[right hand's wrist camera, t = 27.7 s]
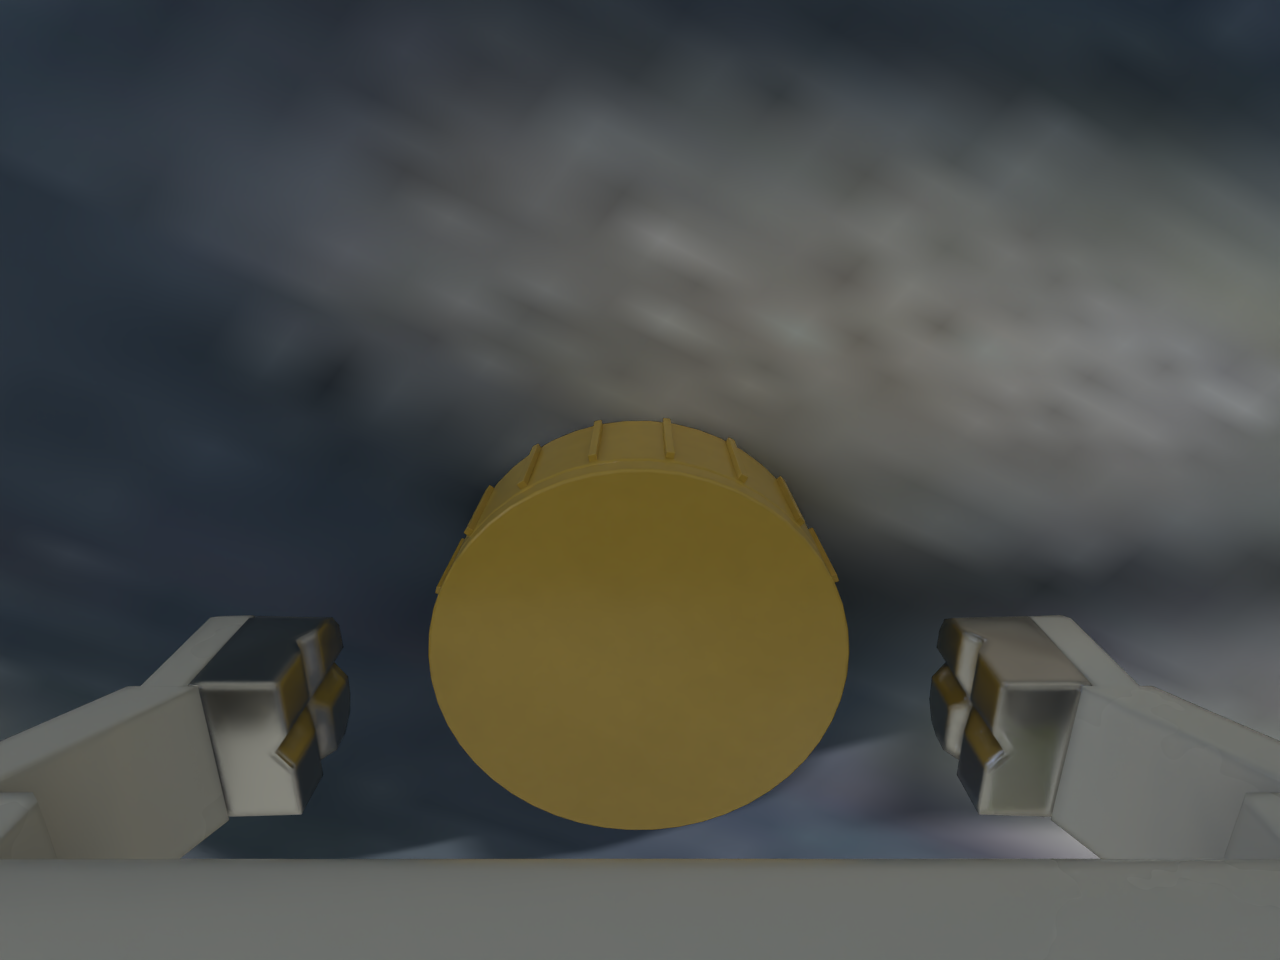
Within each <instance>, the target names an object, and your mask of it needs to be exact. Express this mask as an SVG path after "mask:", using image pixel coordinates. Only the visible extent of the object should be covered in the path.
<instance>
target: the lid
mask: <svg viewBox="0 0 1280 960" xmlns="http://www.w3.org/2000/svg"><path fill="white" fill-rule="evenodd" d="M464 533H465V534H466V537H465V539H463V538H462V539H461V540H460V542H459V544H458V546H457V548H456V550H455V552H454V554H453V556H452V558H451V560H450V562H449V564H448V566H447V568H446V570H445V572H444V574H443V576H442V578H441V579H440V581H439V583H438V585H437V588H436V592H435V593H437V594H438V597H437V600H436V602H435V605H434V608H433V613H432V619H431V624H430V629H429V650H428V657H429V665H430V673H431V680H432V684H433V687H434V691H435V694H436V698H437V702H438V704H439V707H440V709H441V711H442V713H443V716H444V718H445V720H446V722H447V725H448V726H449V728H450V729H451V731H452V733H453V734H454V736H455V737H456V739H457V741H458V742H459V744H460V745H461V746H462V748H463V749H464V750H465V751H466V753H467V754H468V755H469V756H470V757H471V759H472V760H473V761H474V762H475V763H476V764H477V765H478V766H479V767H480V768H481V769H482V770H483V771H484V772H485V773H486V774H487V775H488V776H490V777H491V778H492V779H493V780H494V781H496V782H497V783H498V784H500V785H501V786H502V787H504V788H505V789H506V790H508V791H509V792H510V793H512V794H514V795H515V796H517V797H519V798H521V799H522V800H524V801H526V802H528V803H529V804H531V805H533V806H535V807H537V808H540V809H542V810H544V811H547V812H549V813H551V814H554V815H556V816H559V817H563V818H566V819H569V820H572V821H575V822H579V823H583V824H588V825H593V826H598V827H603V828H614V829H625V830H655V829H664V828H673V827H680V826H685V825H689V824H694V823H698V822H703V821H706V820H709V819H712V818H715V817H718V816H721V815H724V814H727V813H729V812H731V811H733V810H736V809H738V808H740V807H742V806H744V805H747V804H749V803H750V802H752V801H754V800H755V799H757V798H759V797H760V796H762V795H764V794H765V793H767V792H769V791H770V790H772V789H773V788H774V787H775V786H777V785H778V784H779V783H781V782H782V781H783V780H785V779H786V778H787V777H788V776H789V775H790V774H791V773H793V772H794V771H795V770H796V769H797V768H798V767H799V766H800V765H801V764H802V763H803V762H804V761H805V760H806V758H807V757H808V756H809V755H810V753H811V752H812V751H813V750H814V748H815V747H816V746H817V744H818V743H819V742H820V740H821V739H822V737H823V735H824V734H825V732H826V730H827V729H828V727H829V725H830V723H831V722H832V720H833V717H834V715H835V712H836V710H837V708H838V705H839V703H840V700H841V697H842V693H843V689H844V685H845V681H846V677H847V671H848V660H849V637H848V626H847V621H846V616H845V612H844V607H843V603H842V601H841V598H840V595H839V593H838V590H837V587H836V585H835V582H838V581H839V579H838V577H837V574H836V572H835V570H834V568H833V566H832V564H831V562H830V560H829V558H828V557H827V555H826V553H825V551H824V549H823V547H822V545H821V543H820V541H819V539H818V537H817V535H816V533H815V531H814V529H813V528H810V529H808V528H807V526H806V524H805V520H804V518H803V516H802V514H801V512H800V510H799V508H798V506H797V504H796V502H795V500H794V498H793V496H792V494H791V492H790V490H789V488H788V486H787V484H786V482H785V480H784V479H783V478H782V477H781V476H780V477H778V478H777V479H776V478H775V477H774V476H773V475H772V474H771V473H770V472H769V471H768V470H767V469H766V468H765V467H764V466H763V465H762V464H760V463H759V462H758V461H756V460H755V459H754V458H752V457H751V456H749V455H748V454H747V453H745V452H744V451H743V450H741V449H739V448H737V446H736V443H735V441H734V440H733V439H731V438H729V437H728V439H727V440H726V441H725V440H723V439H721V438H718V437H716V436H713V435H711V434H708V433H705V432H703V431H700V430H697V429H693V428H689V427H685V426H681V425H677V424H672V423H671V420H670V419H668V418H663V422H655V421H621V422H614V423H607V424H602V420H598V421H595V422H594V426H592V427H588V428H585V429H581V430H577V431H574V432H572V433H569V434H567V435H565V436H562V437H560V438H557V439H555V440H553V441H551V442H549V443H548V444H546V445H544V446H542V447H541V446H540V445H539V444H536V445H534V446H533V447H532V449H531V451H530V454H529V455H528V456H527V457H526V458H524V459H523V460H522V461H520V462H519V463H518V464H517V465H515V466H514V467H513V468H512V469H511V470H510V471H509V472H508V473H507V474H506V475H505V476H504V477H503V478H502V479H501V480H500V481H499V482H498V483H497V485H496V486H495V487H494V488H493V487H492V486H491V485H489V486H488V488H487V489H486V490H485V492H484V494H483V496H482V498H481V500H480V502H479V504H478V506H477V508H476V510H475V512H474V514H473V516H472V518H471V519H470V521H469V523H468V525H467V527H466V529H465V531H464Z"/></svg>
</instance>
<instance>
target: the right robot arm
mask: <svg viewBox="0 0 1280 960" xmlns="http://www.w3.org/2000/svg"><path fill="white" fill-rule="evenodd" d="M342 649H343V643H342V637H341V632H340V627H339V624H338V623H337V622H336V621H335V620H334V619H333V618H332V617H285V616H256V617H255V616H253V615H242V616H217V617H211V618H209V619H208V620H207V621H206V622H205V623H204V624H203V625H202V626H201V627H200V628H199V629H198V630H197V631H196V632H195V633H194V634H193V635H192V636H191V637H190V638H189V639H188V640H187V641H186V642H185V643H184V644H183V645H182V646H181V647H180V648H179V649H178V650H177V651H176V652H175V653H174V654H173V655H172V656H171V657H170V658H169V659H168V660H167V661H165V662H164V663H163V664H162V665H161V666H160V667H159V668H158V669H157V670H156V671H155V672H154V673H153V674H152V675H151V676H150V677H149V678H148V679H147V680H146V681H145V682H144V683H143V684H142V685H141V686H127V687H124V688H122V689H120V690H118V691H115V692H113V693H111V694H108V695H106V696H104V697H101V698H99V699H97V700H94V701H92V702H90V703H88V704H85V705H83V706H81V707H78V708H76V709H74V710H71V711H69V712H67V713H64V714H62V715H60V716H57V717H55V718H53V719H51V720H48V721H46V722H44V723H41V724H39V725H37V726H34V727H32V728H30V729H27V730H25V731H23V732H20V733H18V734H16V735H14V736H11V737H9V738H7V739H4V740H2V741H0V960H1280V741H1278V740H1275V739H1273V738H1271V737H1269V736H1266V735H1264V734H1262V733H1259V732H1257V731H1255V730H1252V729H1250V728H1248V727H1246V726H1243V725H1241V724H1239V723H1236V722H1234V721H1232V720H1229V719H1227V718H1225V717H1222V716H1220V715H1218V714H1216V713H1213V712H1211V711H1209V710H1206V709H1204V708H1202V707H1199V706H1197V705H1195V704H1193V703H1190V702H1188V701H1186V700H1183V699H1181V698H1179V697H1176V696H1174V695H1172V694H1169V693H1167V692H1165V691H1163V690H1160V689H1158V688H1156V687H1153V686H1139V685H1138V684H1137V683H1136V682H1135V681H1134V680H1133V679H1132V678H1131V677H1130V676H1129V675H1128V674H1127V673H1126V672H1125V671H1124V670H1123V669H1122V668H1121V667H1120V666H1119V665H1118V664H1117V663H1116V662H1115V661H1114V660H1113V659H1112V658H1111V657H1110V656H1109V655H1108V654H1107V653H1106V652H1105V651H1104V650H1103V649H1102V648H1101V647H1099V646H1098V645H1097V644H1096V643H1095V642H1094V641H1093V640H1092V639H1091V638H1090V637H1089V636H1088V635H1087V634H1086V633H1085V632H1084V631H1083V630H1082V629H1081V628H1080V627H1079V626H1078V625H1077V624H1076V623H1075V622H1074V621H1073V620H1072V619H1071V618H1068V617H1065V616H1062V615H1050V616H1016V617H975V618H950V619H944V622H943V624H942V626H941V628H940V631H939V637H938V642H937V649H938V650H939V652H940V653H941V655H942V657H943V658H944V660H945V661H946V663H945V664H944V665H943V666H942V667H941V668H940V669H939V670H938V671H937V672H936V673H935V674H934V675H933V676H932V682H931V690H930V699H929V700H930V710H931V721H932V724H933V727H934V730H935V734H936V736H937V738H938V740H939V742H940V744H941V746H942V748H943V750H945V751H946V752H948V753H949V754H951V755H952V756H954V757H956V758H957V759H959V765H958V771H957V776H958V778H959V779H960V781H961V783H962V785H963V787H964V788H965V790H966V792H967V794H968V796H969V797H970V799H971V801H972V803H973V805H974V807H975V808H976V810H977V812H978V814H979V815H1013V816H1050V817H1051V820H1052V821H1053V822H1054V823H1056V824H1057V825H1058V826H1060V827H1061V828H1062V829H1063V830H1065V831H1066V832H1067V833H1068V834H1070V835H1071V836H1072V837H1074V838H1075V839H1076V840H1077V841H1079V842H1080V843H1081V844H1083V845H1084V846H1085V847H1086V848H1088V849H1089V850H1090V851H1092V852H1093V853H1094V854H1095V855H1097V856H1098V857H1099V858H1101V859H180V858H181V857H182V856H184V855H185V854H186V853H187V852H189V851H190V850H191V849H193V848H194V847H195V846H196V845H198V844H199V843H200V842H202V841H203V840H204V839H205V838H207V837H208V836H209V835H211V834H212V833H213V832H214V831H216V830H217V829H218V828H220V827H221V826H222V825H223V824H225V823H226V822H227V821H229V817H230V816H266V815H301V814H302V812H303V811H304V809H305V807H306V805H307V803H308V801H309V800H310V798H311V796H312V794H313V792H314V790H315V789H316V787H317V785H318V783H319V781H320V780H321V778H322V776H323V770H322V764H321V760H322V759H323V758H325V757H326V756H328V755H329V754H331V753H332V752H334V751H335V750H337V748H338V746H339V744H340V742H341V740H342V738H343V736H344V734H345V731H346V727H347V723H348V718H349V714H350V687H349V680H348V676H347V675H346V674H345V673H344V672H343V671H342V670H341V669H340V668H339V667H338V666H337V665H336V664H335V663H334V661H335V660H336V658H337V657H338V655H339V654H340V652H341V650H342Z"/></svg>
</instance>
